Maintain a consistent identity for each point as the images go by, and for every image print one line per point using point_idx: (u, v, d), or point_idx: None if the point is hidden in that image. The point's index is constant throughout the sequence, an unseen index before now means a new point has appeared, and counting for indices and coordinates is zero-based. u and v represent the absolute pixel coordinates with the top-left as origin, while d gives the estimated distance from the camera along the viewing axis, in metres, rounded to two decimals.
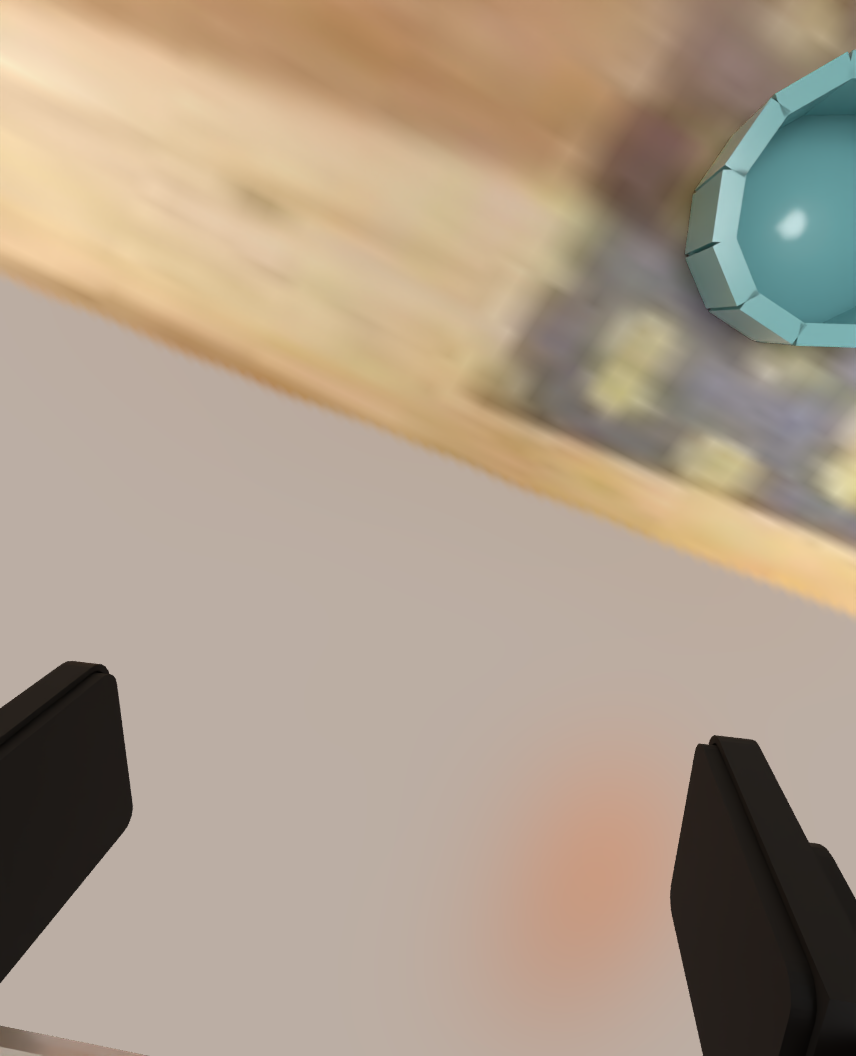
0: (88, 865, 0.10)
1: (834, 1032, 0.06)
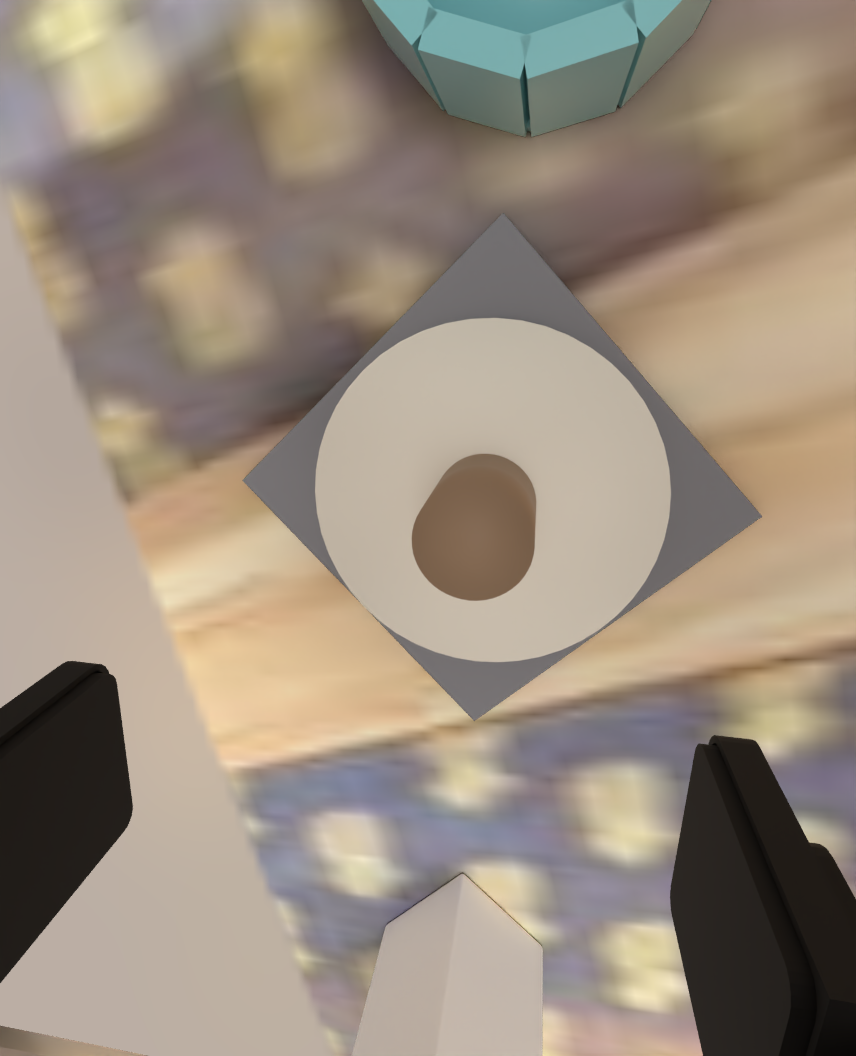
0: (88, 865, 0.10)
1: (834, 1032, 0.06)
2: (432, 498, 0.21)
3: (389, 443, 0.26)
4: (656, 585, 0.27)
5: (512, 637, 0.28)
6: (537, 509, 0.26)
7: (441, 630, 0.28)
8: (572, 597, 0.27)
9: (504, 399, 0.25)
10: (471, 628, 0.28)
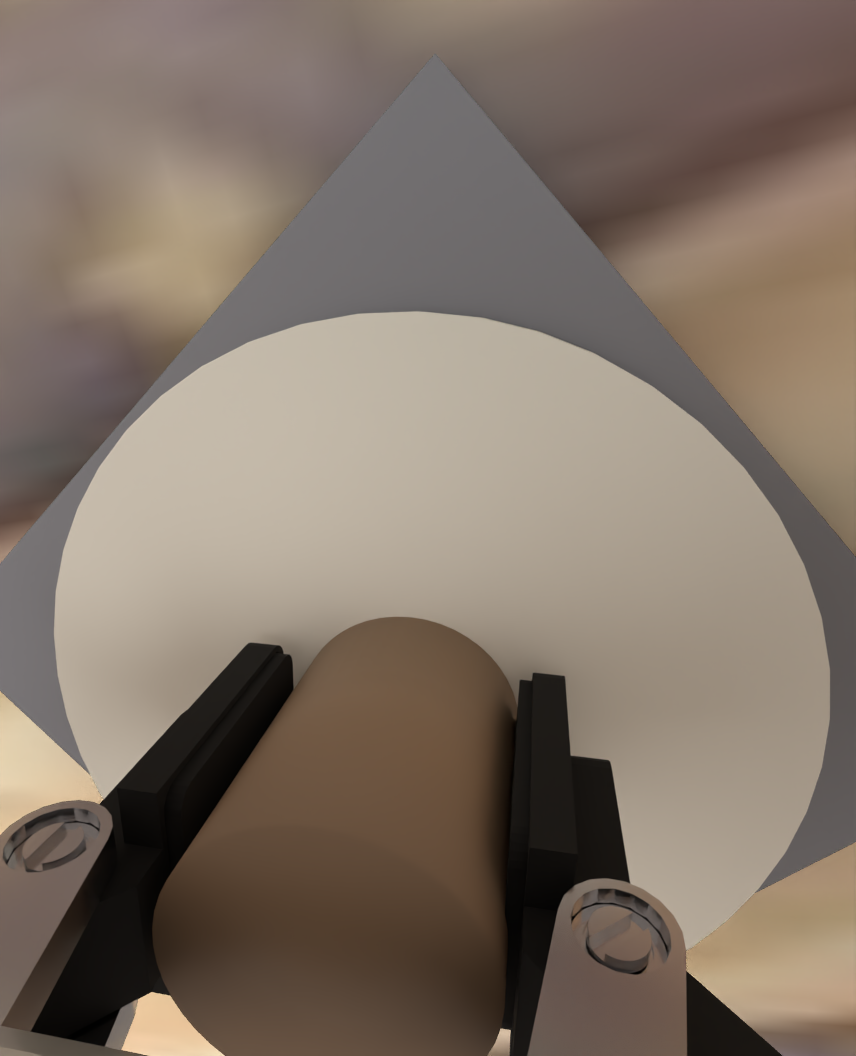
0: None
1: (537, 876, 0.07)
2: (196, 854, 0.07)
3: (197, 588, 0.12)
4: (772, 874, 0.13)
5: None
6: None
7: None
8: None
9: (444, 501, 0.11)
10: None
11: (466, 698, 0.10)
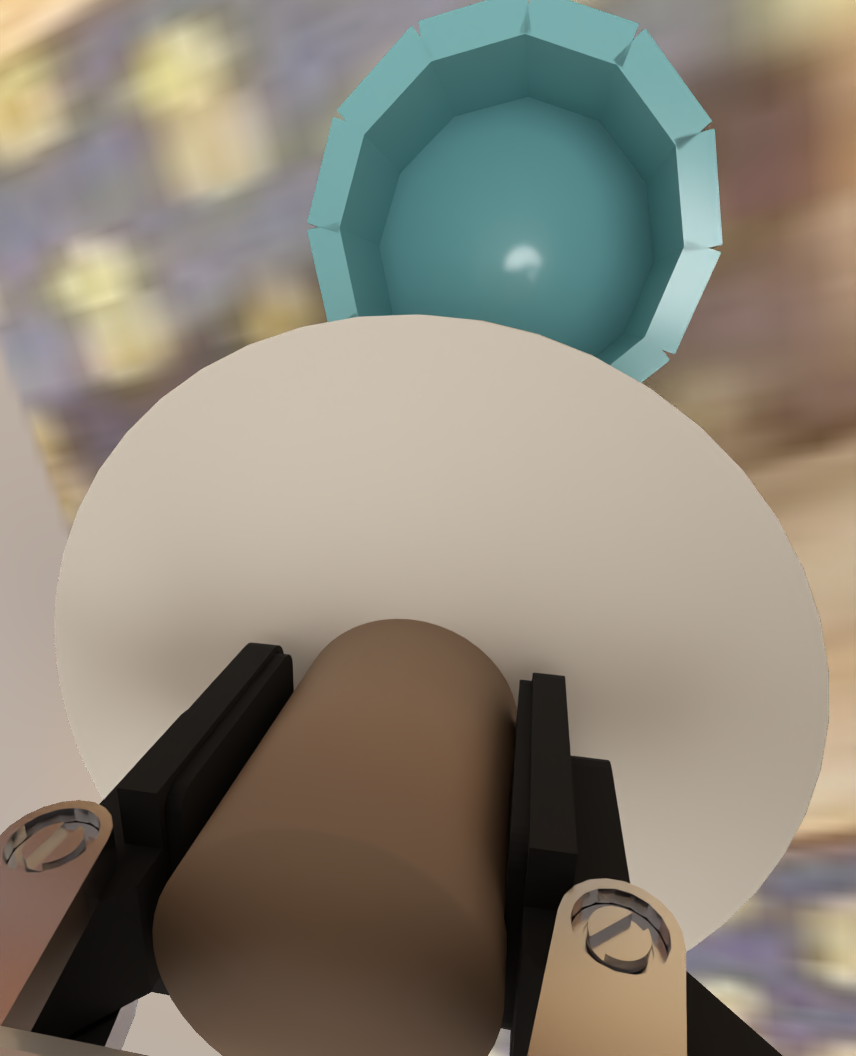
0: None
1: (537, 876, 0.07)
2: (196, 857, 0.07)
3: (196, 590, 0.12)
4: None
5: None
6: None
7: None
8: None
9: (443, 504, 0.11)
10: None
11: (465, 700, 0.10)
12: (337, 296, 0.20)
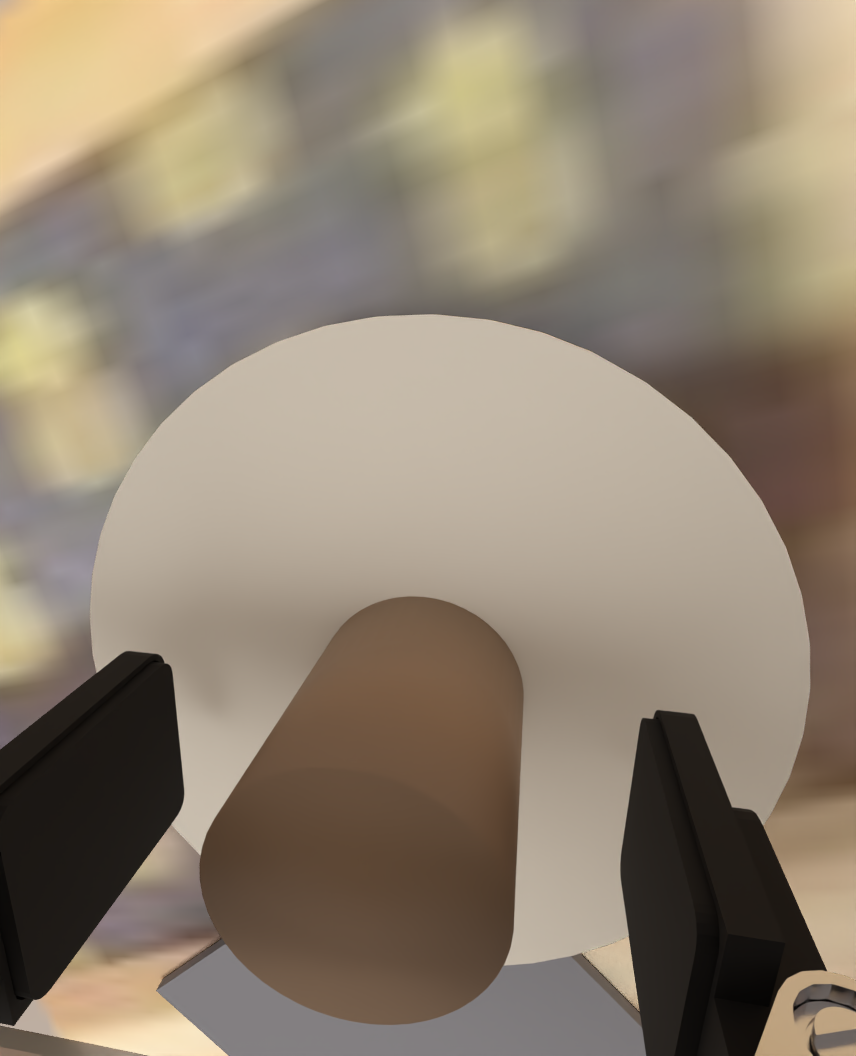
0: (147, 847, 0.11)
1: (733, 965, 0.06)
2: (241, 795, 0.08)
3: (224, 570, 0.13)
4: None
5: None
6: (526, 706, 0.13)
7: None
8: (595, 869, 0.13)
9: (454, 489, 0.12)
10: None
11: (476, 667, 0.11)
12: None
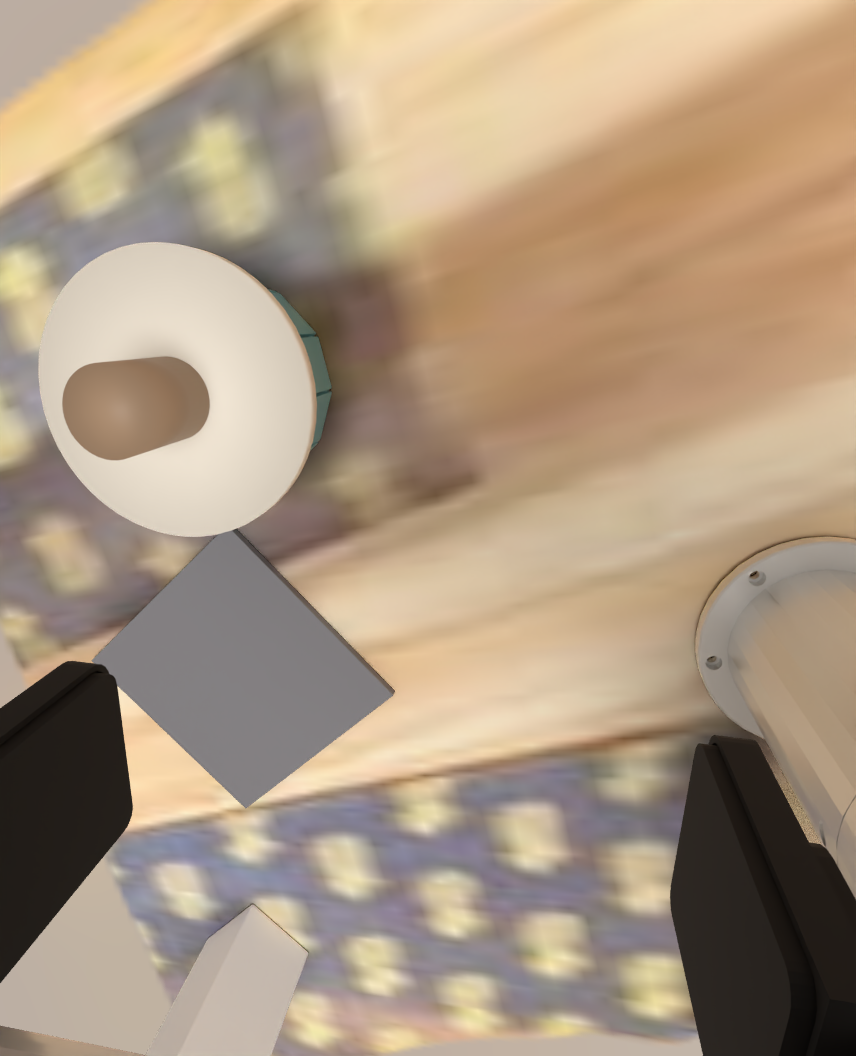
0: (88, 865, 0.10)
1: (834, 1032, 0.06)
2: (72, 375, 0.27)
3: (91, 349, 0.32)
4: (340, 731, 0.44)
5: (207, 514, 0.33)
6: (211, 403, 0.32)
7: (152, 510, 0.34)
8: (247, 478, 0.32)
9: (173, 310, 0.31)
10: (175, 507, 0.34)
11: (171, 368, 0.30)
12: None
